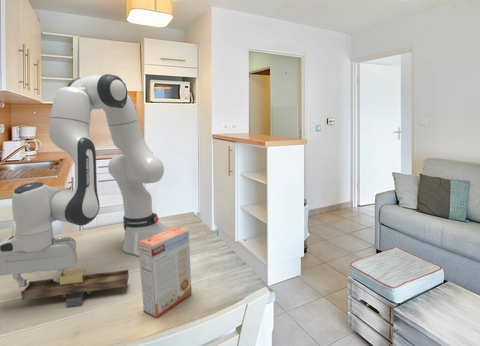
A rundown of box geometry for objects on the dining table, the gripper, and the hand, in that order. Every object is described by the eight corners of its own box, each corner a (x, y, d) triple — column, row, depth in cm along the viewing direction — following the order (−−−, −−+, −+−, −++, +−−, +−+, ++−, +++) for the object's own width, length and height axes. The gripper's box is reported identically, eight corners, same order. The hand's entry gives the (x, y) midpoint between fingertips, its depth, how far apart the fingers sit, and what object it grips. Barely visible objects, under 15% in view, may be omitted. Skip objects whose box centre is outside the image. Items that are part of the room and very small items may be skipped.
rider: (86, 280, 94) (85, 268, 93) (83, 286, 90) (81, 274, 90) (64, 282, 93) (63, 270, 92) (60, 289, 89) (59, 276, 88)
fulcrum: (90, 284, 99) (90, 277, 98) (82, 305, 87) (81, 297, 87) (77, 285, 98) (76, 278, 97) (66, 307, 86) (65, 299, 86)
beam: (128, 279, 99) (128, 269, 98) (127, 289, 93) (126, 278, 92) (30, 291, 92) (29, 281, 91) (22, 303, 86) (20, 291, 85)
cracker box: (178, 288, 96) (175, 225, 93) (192, 294, 93) (190, 229, 89) (141, 311, 85) (137, 240, 81) (156, 318, 81) (152, 245, 78)
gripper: (78, 232, 92) (82, 274, 95) (0, 238, 87) (6, 283, 90) (72, 240, 86) (76, 285, 89) (-12, 247, 81) (-5, 294, 84)
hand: (40, 284), depth 89 cm, fingers open, 8 cm apart
